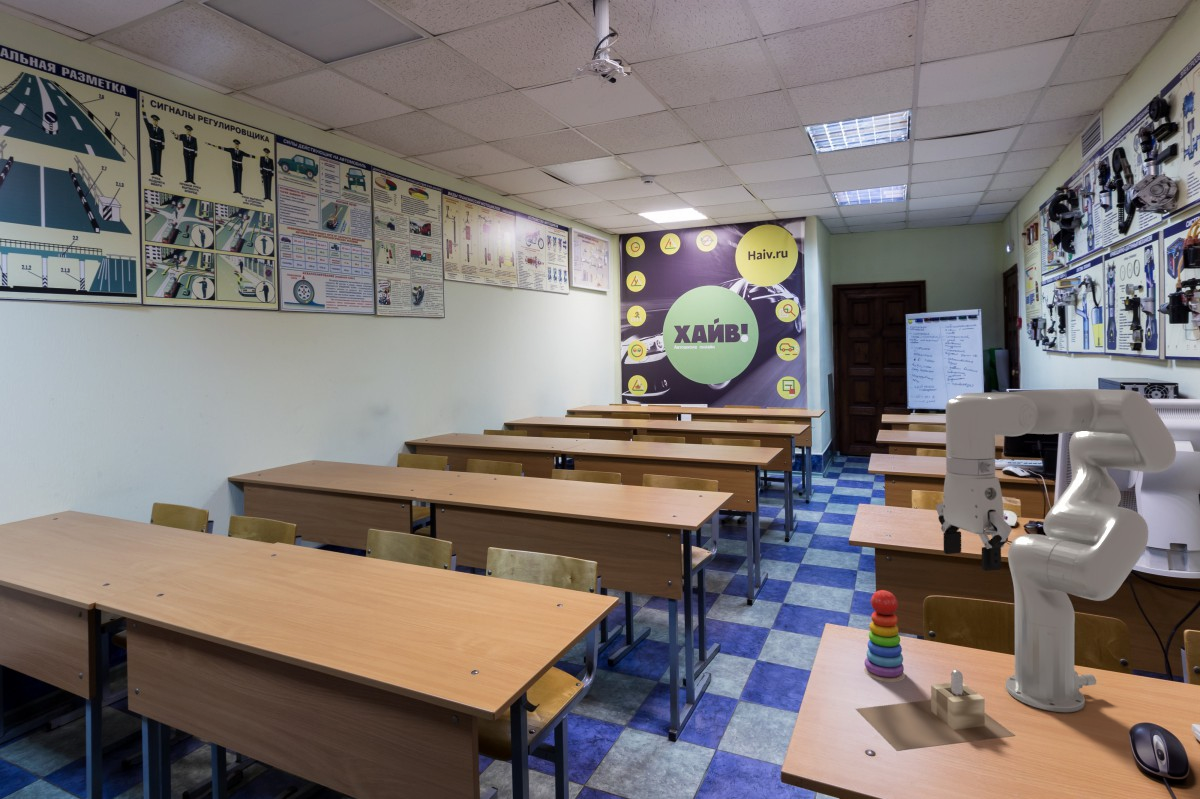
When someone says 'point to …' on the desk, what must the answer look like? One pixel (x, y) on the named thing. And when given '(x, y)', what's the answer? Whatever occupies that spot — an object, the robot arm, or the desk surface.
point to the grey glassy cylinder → (956, 683)
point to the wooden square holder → (958, 707)
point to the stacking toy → (884, 640)
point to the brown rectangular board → (924, 726)
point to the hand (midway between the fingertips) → (971, 561)
